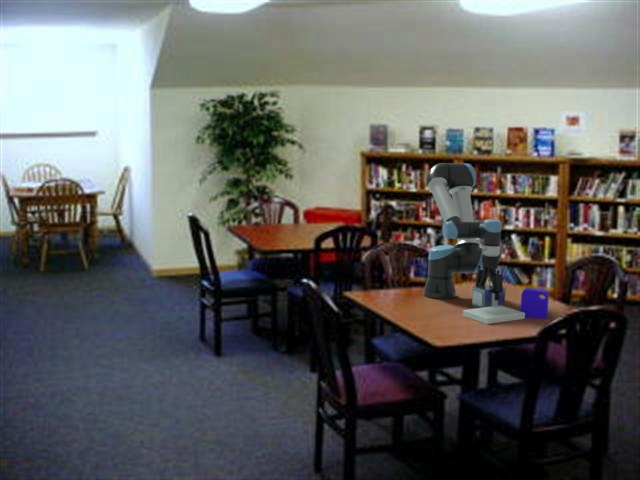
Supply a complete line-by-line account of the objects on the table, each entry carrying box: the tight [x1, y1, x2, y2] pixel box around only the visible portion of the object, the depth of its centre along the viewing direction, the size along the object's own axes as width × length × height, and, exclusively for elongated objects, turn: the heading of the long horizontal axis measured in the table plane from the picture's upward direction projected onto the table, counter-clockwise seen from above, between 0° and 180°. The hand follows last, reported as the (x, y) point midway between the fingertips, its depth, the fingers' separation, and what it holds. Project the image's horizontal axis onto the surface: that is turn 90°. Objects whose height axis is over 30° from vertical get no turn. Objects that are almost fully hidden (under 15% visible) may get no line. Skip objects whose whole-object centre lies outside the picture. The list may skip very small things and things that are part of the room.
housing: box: [471, 282, 506, 309], centre depth 378 cm, size 8×13×10 cm, turn 121°
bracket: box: [520, 287, 550, 319], centre depth 369 cm, size 18×11×12 cm, turn 160°
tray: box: [462, 306, 526, 325], centre depth 360 cm, size 15×21×3 cm
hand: (488, 305), depth 379 cm, fingers closed on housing, 8 cm apart
